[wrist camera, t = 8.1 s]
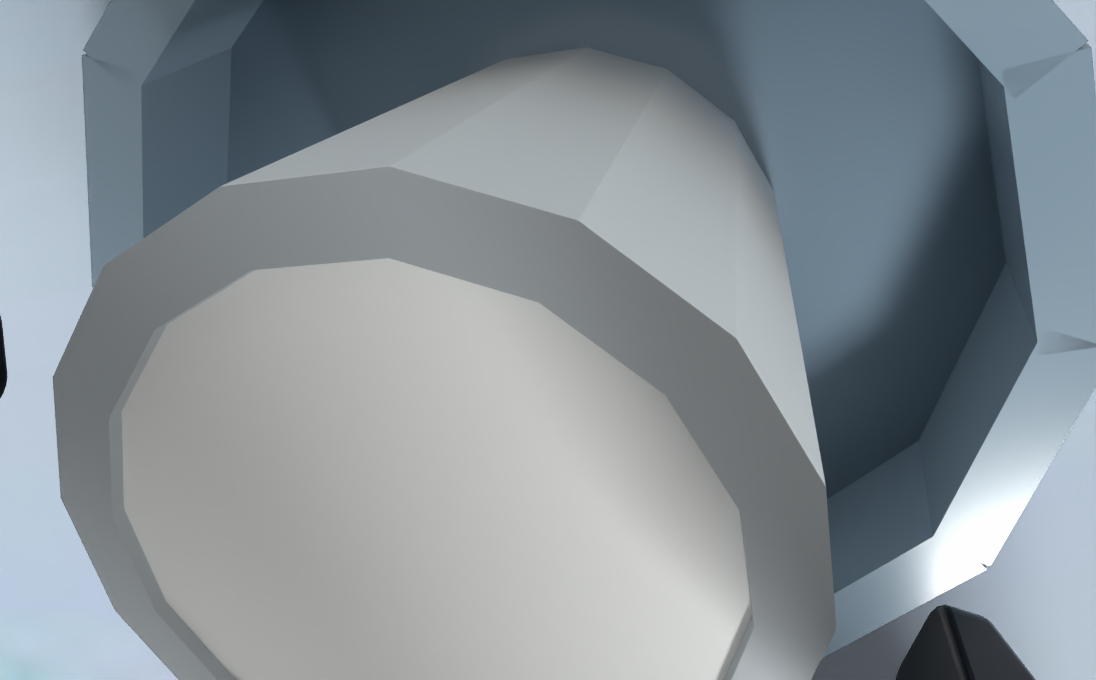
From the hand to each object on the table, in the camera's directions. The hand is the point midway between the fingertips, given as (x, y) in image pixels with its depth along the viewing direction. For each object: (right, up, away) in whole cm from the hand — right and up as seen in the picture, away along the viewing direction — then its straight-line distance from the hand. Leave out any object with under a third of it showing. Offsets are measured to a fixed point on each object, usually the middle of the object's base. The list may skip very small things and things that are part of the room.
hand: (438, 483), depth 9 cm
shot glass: (+2, +3, +5) cm, 6 cm away
